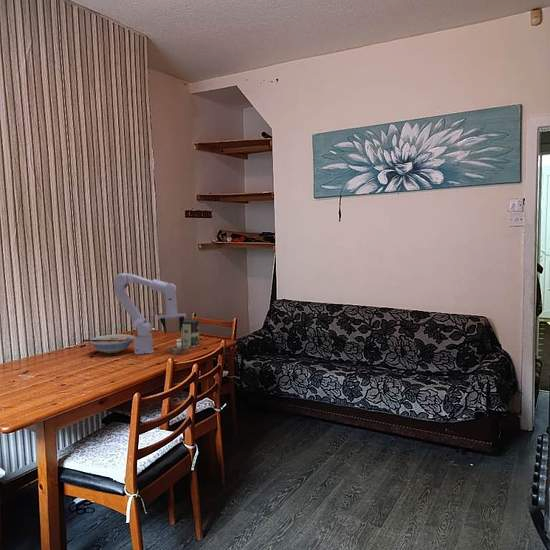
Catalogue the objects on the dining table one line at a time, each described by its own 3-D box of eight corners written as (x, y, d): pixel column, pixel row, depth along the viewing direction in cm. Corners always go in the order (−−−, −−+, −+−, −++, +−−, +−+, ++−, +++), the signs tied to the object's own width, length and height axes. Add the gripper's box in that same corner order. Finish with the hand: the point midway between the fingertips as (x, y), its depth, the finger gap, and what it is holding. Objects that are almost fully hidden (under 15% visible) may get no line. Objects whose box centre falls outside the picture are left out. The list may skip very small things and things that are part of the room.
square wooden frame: (174, 355, 252) (174, 349, 251) (169, 352, 259) (169, 346, 258) (189, 353, 256) (188, 347, 255) (183, 350, 263) (183, 344, 262)
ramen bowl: (143, 347, 272) (142, 332, 271) (126, 357, 249) (126, 342, 249) (99, 347, 274) (99, 332, 274) (79, 357, 252) (78, 341, 251)
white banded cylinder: (176, 353, 256) (176, 340, 255) (176, 352, 258) (176, 339, 257) (181, 353, 256) (181, 340, 255) (181, 352, 258) (181, 339, 258)
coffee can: (198, 342, 279) (198, 318, 278) (199, 347, 269) (199, 321, 268) (180, 343, 277) (180, 319, 276) (180, 347, 267) (180, 322, 266)
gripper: (157, 308, 253) (159, 334, 255) (185, 306, 257) (187, 331, 258) (157, 306, 260) (158, 332, 261) (184, 304, 264) (186, 329, 265)
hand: (172, 331), depth 260 cm, fingers open, 7 cm apart
